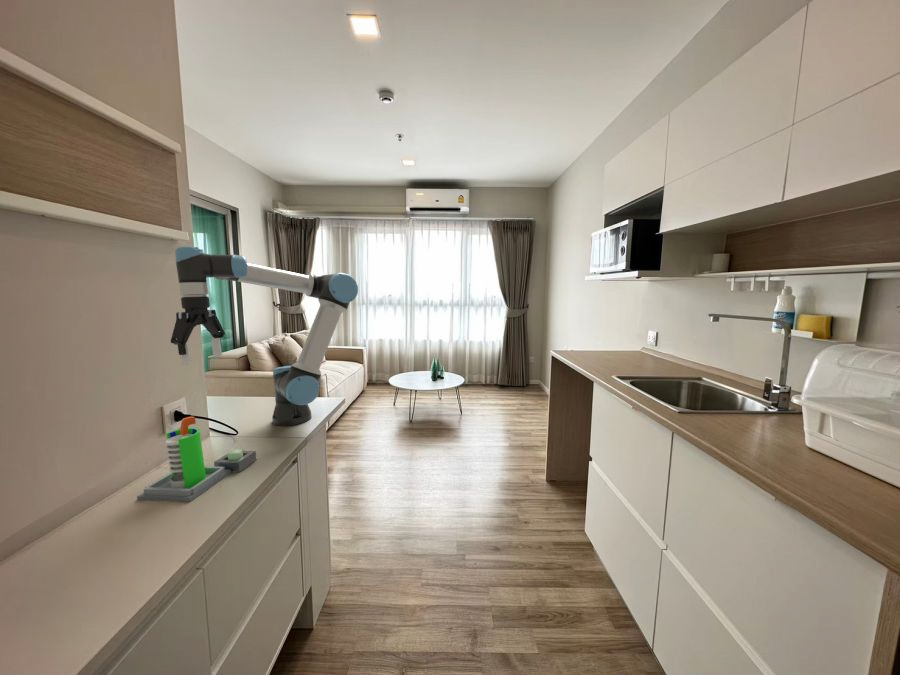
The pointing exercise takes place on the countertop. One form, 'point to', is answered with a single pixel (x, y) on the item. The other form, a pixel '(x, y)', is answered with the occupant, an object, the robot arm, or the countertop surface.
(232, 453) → the button
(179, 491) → the grey square tray
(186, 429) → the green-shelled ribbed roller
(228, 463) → the dark grey square holder
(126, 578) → the countertop surface
